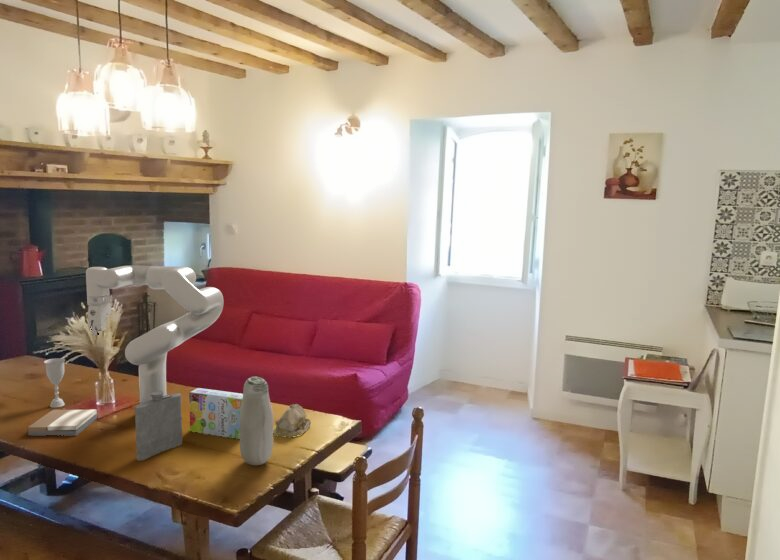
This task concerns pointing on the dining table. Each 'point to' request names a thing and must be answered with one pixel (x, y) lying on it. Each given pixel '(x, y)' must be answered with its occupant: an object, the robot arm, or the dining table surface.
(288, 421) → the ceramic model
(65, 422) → the pale plank
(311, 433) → the dining table surface
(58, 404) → the chalice
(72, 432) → the floor sample board
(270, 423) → the pale grey bottle
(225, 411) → the snack box
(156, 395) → the hip flask
